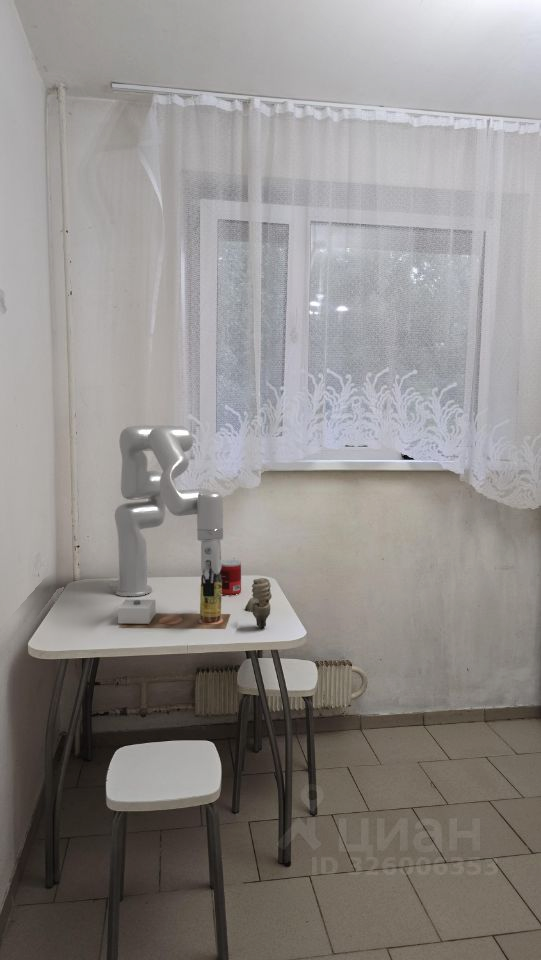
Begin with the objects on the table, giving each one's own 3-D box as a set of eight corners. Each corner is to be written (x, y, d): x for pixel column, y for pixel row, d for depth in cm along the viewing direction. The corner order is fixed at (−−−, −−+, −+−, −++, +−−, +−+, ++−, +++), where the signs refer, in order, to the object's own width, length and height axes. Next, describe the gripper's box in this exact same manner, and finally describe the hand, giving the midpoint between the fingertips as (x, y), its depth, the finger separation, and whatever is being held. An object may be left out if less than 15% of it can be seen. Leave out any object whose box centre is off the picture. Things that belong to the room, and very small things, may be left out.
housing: (118, 623, 189) (117, 605, 189) (126, 613, 198) (125, 596, 198) (149, 623, 189) (148, 605, 188) (155, 614, 198) (155, 597, 197)
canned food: (242, 590, 231) (242, 559, 230) (239, 596, 223) (239, 564, 222) (221, 589, 232) (220, 559, 231) (217, 595, 224) (216, 564, 223)
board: (117, 631, 187) (117, 627, 187) (130, 616, 201) (130, 612, 201) (225, 633, 186) (225, 628, 186) (230, 617, 200) (230, 613, 199)
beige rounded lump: (261, 614, 203) (261, 583, 202) (243, 609, 208) (243, 579, 207) (273, 611, 207) (273, 580, 206) (255, 606, 212) (255, 576, 211)
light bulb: (273, 631, 187) (273, 579, 186) (254, 632, 186) (254, 581, 184) (267, 624, 193) (267, 575, 191) (249, 626, 191) (249, 576, 190)
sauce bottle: (203, 624, 189) (202, 557, 187) (197, 618, 195) (196, 552, 193) (225, 621, 192) (224, 555, 190) (218, 615, 197) (217, 550, 195)
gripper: (219, 539, 181) (220, 600, 183) (226, 529, 199) (226, 584, 200) (192, 539, 182) (193, 599, 183) (201, 529, 199) (202, 584, 201)
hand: (210, 591), depth 192 cm, fingers open, 9 cm apart
